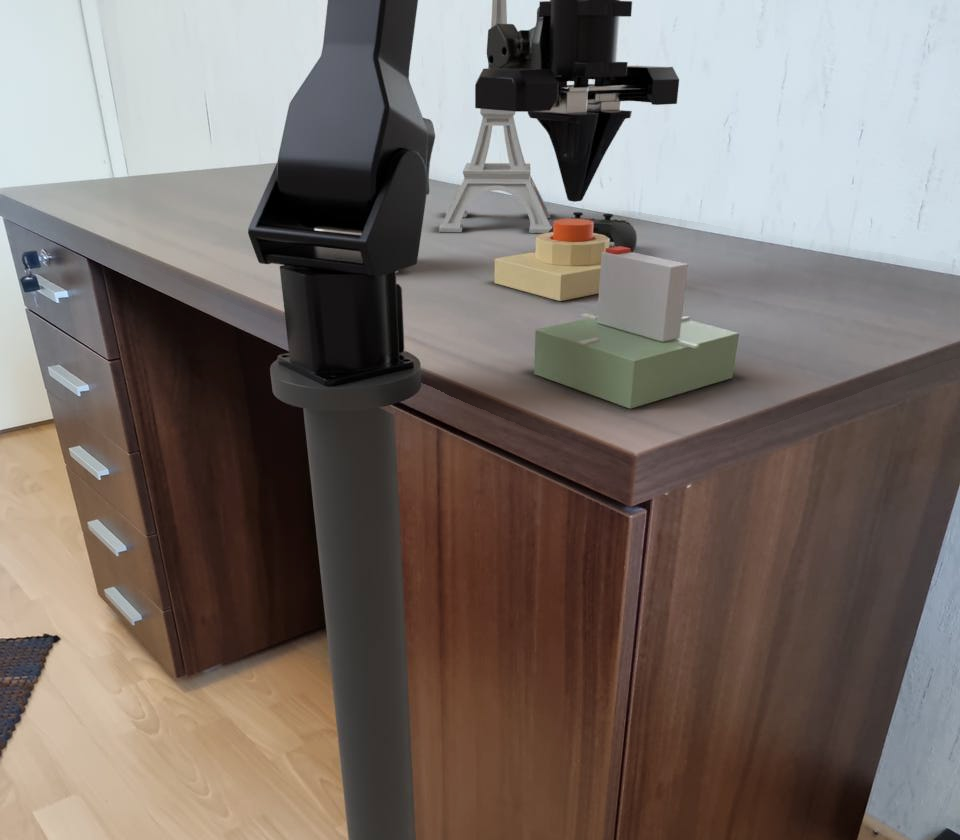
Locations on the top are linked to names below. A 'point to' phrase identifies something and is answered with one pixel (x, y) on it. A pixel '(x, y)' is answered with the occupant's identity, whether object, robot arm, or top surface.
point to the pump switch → (555, 268)
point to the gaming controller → (613, 230)
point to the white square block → (641, 293)
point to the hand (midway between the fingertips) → (574, 200)
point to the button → (573, 230)
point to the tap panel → (633, 360)
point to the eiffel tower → (498, 166)
